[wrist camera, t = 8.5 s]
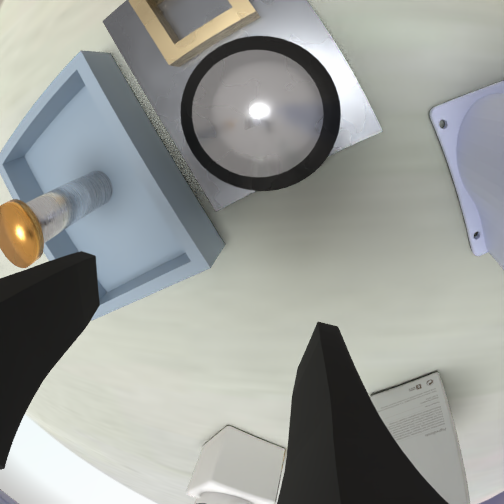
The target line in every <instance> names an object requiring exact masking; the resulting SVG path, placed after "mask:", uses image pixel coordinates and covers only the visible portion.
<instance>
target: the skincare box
mask: <svg viewBox="0 0 504 504" xmlns="http://www.w3.org/2000/svg"><path fill="white" fill-rule="evenodd" d="M370 399H371V401H372V403H373V405H374V406H375V408H376V410H377V412H378V414H379V416H380V417H381V419H382V421H383V422H384V424H385V425H386V427H387V429H388V430H389V432H390V433H391V435H392V436H393V438H394V439H395V441H396V442H397V444H398V445H399V447H400V448H401V449H402V451H403V452H404V453H405V455H406V456H407V457H408V459H409V460H410V461H411V462H412V464H413V465H414V466H415V468H416V469H417V470H418V471H419V473H420V474H421V475H422V476H423V477H424V478H425V479H426V481H427V482H428V483H429V484H430V485H431V486H432V487H433V488H434V489H435V490H436V491H437V492H438V493H439V494H440V496H441V497H442V498H443V499H444V500H445V501H447V502H448V503H449V504H470V498H469V491H468V484H467V479H466V473H465V468H464V463H463V458H462V454H461V449H460V445H459V440H458V436H457V432H456V428H455V424H454V420H453V417H452V413H451V410H450V407H449V403H448V400H447V396H446V393H445V390H444V387H443V384H442V381H441V378H440V375H439V373H438V372H435V373H433V374H430V375H427V376H425V377H422V378H419V379H417V380H414V381H411V382H409V383H406V384H403V385H400V386H398V387H395V388H392V389H389V390H386V391H384V392H381V393H378V394H375V395H373V396H371V397H370Z"/></svg>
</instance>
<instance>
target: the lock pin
mask: <svg viewBox="0 0 504 504" xmlns="http://www.w3.org/2000/svg"><path fill="white" fill-rule="evenodd" d="M112 193H113V188H112V184H111V181H110V179H109V178H108V176H107V175H106V174H104V173H103V172H101V171H93V172H90V173H88V174H86V175H84V176H81V177H79V178H77V179H75V180H72V181H70V182H68V183H66V184H64V185H62V186H59V187H57V188H55V189H53V190H51V191H49V192H47V193H45V194H43V195H41V196H39V197H37V198H35V199H33V200H31V201H29V202H27V203H25V202H23V201H21V200H18V199H13V200H10V201H8V202H7V203H5V204H3V205H1V206H0V248H1V250H2V252H3V253H4V255H5V256H6V257H7V258H8V260H9V261H10V262H12V263H13V264H14V265H16V266H18V267H20V268H26V267H28V266H30V265H31V264H32V263H34V262H35V261H36V260H38V259H39V258H40V257H41V255H42V253H43V249H44V243H45V242H47V241H48V240H50V239H51V238H53V237H54V236H56V235H57V234H59V233H60V232H62V231H63V230H65V229H66V228H68V227H69V226H71V225H73V224H74V223H76V222H77V221H79V220H80V219H82V218H84V217H85V216H87V215H88V214H90V213H92V212H93V211H95V210H96V209H98V208H100V207H101V206H103V205H105V204H106V203H108V202H109V201H110V199H111V197H112Z"/></svg>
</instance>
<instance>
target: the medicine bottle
mask: <svg viewBox="0 0 504 504" xmlns="http://www.w3.org/2000/svg"><path fill="white" fill-rule="evenodd" d="M284 455H285V449H284V448H282V447H279V446H277V445H274V444H272V443H269V442H267V441H264V440H262V439H259V438H257V437H254V436H252V435H250V434H247V433H245V432H243V431H241V430H238V429H236V428H234V427H232V426H226V427H225V428H224V429H223V430H221V431H220V432H219V433H218V434H217V435H215V436H214V437H213V438H212V439H211V440H209V441H208V442H207V443H206V444H204V445H203V447H202V450H201V452H200V455H199V458H198V461H197V463H196V466H195V469H194V471H193V474H192V477H191V480H190V482H189V485H188V488H187V490H186V493H187V495H189V496H192V497H194V498H197V499H196V502H195V504H275V502H276V498H277V493H278V488H279V483H280V477H281V472H282V466H283V461H284Z"/></svg>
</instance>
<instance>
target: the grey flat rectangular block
mask: <svg viewBox="0 0 504 504" xmlns="http://www.w3.org/2000/svg"><path fill="white" fill-rule="evenodd" d="M103 23H104V25H105V27H106V28H107V30H108V32H109V33H110V35H111V37H112V38H113V40H114V42H115V44H116V45H117V47H118V49H119V50H120V52H121V54H122V56H123V57H124V59H125V61H126V62H127V64H128V66H129V67H130V69H131V71H132V73H133V74H134V76H135V78H136V79H137V81H138V83H139V84H140V86H141V88H142V89H143V91H144V93H145V94H146V96H147V98H148V100H149V101H150V103H151V105H152V106H153V108H154V110H155V111H156V113H157V115H158V116H159V118H160V120H161V121H162V123H163V125H164V126H165V128H166V130H167V131H168V133H169V135H170V136H171V138H172V140H173V141H174V143H175V145H176V146H177V148H178V150H179V151H180V153H181V155H182V156H183V158H184V160H185V161H186V163H187V165H188V166H189V168H190V170H191V171H192V173H193V175H194V176H195V178H196V180H197V181H198V183H199V185H200V186H201V188H202V190H203V191H204V193H205V195H206V196H207V198H208V199H209V201H210V203H211V204H212V206H213V208H214V209H215V211H218V210H220V209H222V208H224V207H226V206H228V205H230V204H232V203H234V202H236V201H238V200H240V199H241V198H243V197H245V196H247V195H249V194H251V193H253V192H255V191H270V190H277V189H281V188H285V187H288V186H291V185H293V184H296V183H298V182H300V181H301V180H303V179H305V178H307V177H308V176H309V175H311V174H312V173H313V172H314V171H315V170H316V169H318V168H319V167H320V166H321V165H322V163H323V162H324V161H325V160H326V158H327V157H328V156H330V155H332V154H334V153H336V152H338V151H340V150H342V149H345V148H347V147H349V146H351V145H353V144H356V143H358V142H360V141H362V140H365V139H367V138H369V137H371V136H374V135H376V134H378V133H380V132H383V130H382V128H381V126H380V124H379V122H378V120H377V118H376V115H375V113H374V111H373V109H372V107H371V105H370V103H369V102H368V100H367V98H366V96H365V94H364V92H363V90H362V88H361V86H360V84H359V83H358V81H357V79H356V77H355V75H354V74H353V72H352V70H351V68H350V67H349V65H348V63H347V61H346V60H345V58H344V56H343V55H342V53H341V51H340V50H339V48H338V46H337V45H336V43H335V41H334V40H333V38H332V37H331V35H330V34H329V32H328V30H327V29H326V27H325V26H324V24H323V23H322V21H321V20H320V18H319V17H318V15H317V14H316V12H315V11H314V10H313V8H312V7H311V5H310V4H309V2H308V1H307V0H127V1H125V2H124V3H123V4H122V5H121V6H119V7H118V8H117V9H116V10H115V11H114V12H112V13H111V14H110V15H109V16H108V17H107V18H106V19H105V20H104V21H103Z"/></svg>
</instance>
